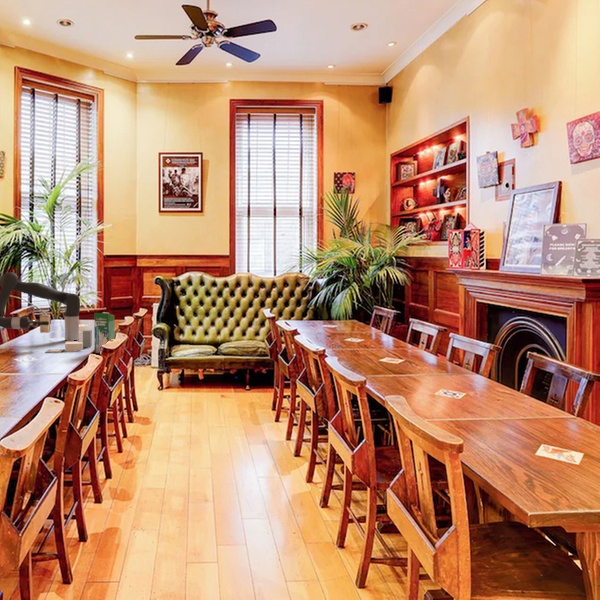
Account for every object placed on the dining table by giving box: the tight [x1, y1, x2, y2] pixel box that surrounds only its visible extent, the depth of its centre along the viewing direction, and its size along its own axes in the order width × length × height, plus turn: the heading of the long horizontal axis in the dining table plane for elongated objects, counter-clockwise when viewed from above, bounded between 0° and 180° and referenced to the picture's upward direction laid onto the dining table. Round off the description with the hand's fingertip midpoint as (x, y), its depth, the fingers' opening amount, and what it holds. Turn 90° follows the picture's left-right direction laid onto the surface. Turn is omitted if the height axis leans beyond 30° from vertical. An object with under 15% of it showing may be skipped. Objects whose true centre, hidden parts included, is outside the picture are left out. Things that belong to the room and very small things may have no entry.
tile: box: [44, 348, 65, 354], centre depth 341 cm, size 9×9×1 cm
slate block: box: [82, 329, 93, 348], centre depth 361 cm, size 5×5×11 cm
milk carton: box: [93, 311, 116, 354], centre depth 343 cm, size 9×9×25 cm
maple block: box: [39, 314, 51, 334], centre depth 348 cm, size 5×5×11 cm
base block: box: [64, 340, 84, 352], centre depth 349 cm, size 10×10×5 cm
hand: (49, 322), depth 348 cm, fingers closed on maple block, 4 cm apart
